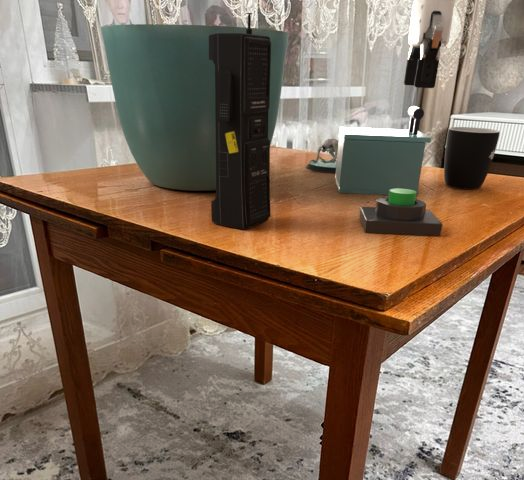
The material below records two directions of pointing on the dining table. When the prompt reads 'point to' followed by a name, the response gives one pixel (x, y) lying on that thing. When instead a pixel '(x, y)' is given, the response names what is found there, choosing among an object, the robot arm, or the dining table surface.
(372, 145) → the teal open box
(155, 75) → the flower pot
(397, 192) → the button
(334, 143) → the figurine
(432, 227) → the block
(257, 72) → the portable radio
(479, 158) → the mug
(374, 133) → the box lid
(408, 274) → the dining table surface
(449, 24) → the robot arm
